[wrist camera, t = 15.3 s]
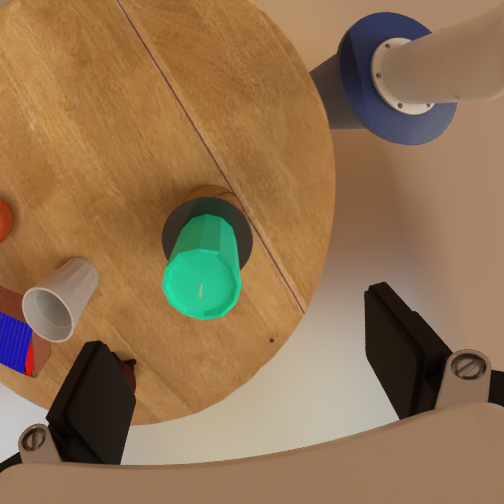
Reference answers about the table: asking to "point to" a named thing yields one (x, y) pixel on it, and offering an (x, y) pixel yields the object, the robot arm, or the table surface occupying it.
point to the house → (20, 338)
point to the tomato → (5, 220)
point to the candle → (203, 269)
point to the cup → (60, 299)
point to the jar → (211, 203)
